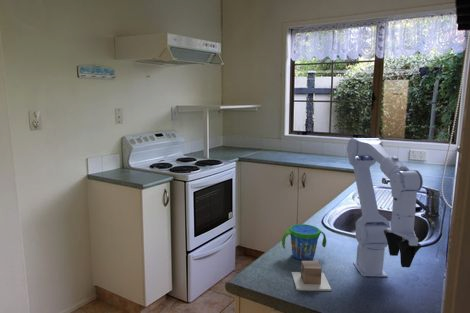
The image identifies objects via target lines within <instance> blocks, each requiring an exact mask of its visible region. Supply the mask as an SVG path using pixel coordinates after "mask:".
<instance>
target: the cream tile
mask: <svg viewBox="0 0 470 313" xmlns="http://www.w3.org/2000/svg"><path fill="white" fill-rule="evenodd" d="M291 276H292V280H293V284H294V286H295V289H296V291H310V292H314V291H315V292H316V291H318V292H319V291H320V292H323V291H324V292H331V291H332V288H331V286H330V284H329V281H328V279H327V277H326V275H325V273H324V272H322V273H321V284H304V283H303V280H302V278H301V271H291Z"/></svg>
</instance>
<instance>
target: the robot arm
mask: <svg viewBox="0 0 470 313" xmlns="http://www.w3.org/2000/svg"><path fill="white" fill-rule="evenodd" d="M346 153H347V158H348V163H349V165H351V166H352V168H353V173H354V178H355V183H356V190H357V194H358V198H359V199H358V200H359V206H360V210H361V214H362V215H361V217H359V218H358V219H357V220H356V221H355V239H356V241H357V242H358V245H357V247H356V261H353V265H354V266H355V268H356V269H357V271H358V272H359V273H360V274H361V276H362V277H379V278H381V277H382V278H383V277H388V274H387V273H386V271H385V270H384V259H385V250H386V248H388V252H389V256H393V257H394V256H397V257H398V256H399V254H400V265H401V267H402V268H410V267H411V266H412V263H413V260H414V258H415V256H416V254H417V253H418V252H419V250H420V249H421V247H422V245H421V243H419V238H418V237H417V236H416V233H415V230H414V229H415V228H414V227H415V217H416V216H415V215H416V206H417V195H418V194H417V193H418V192H420V191H421V189H422V188H423V185H424V180H423V175H422V174H421V172H420V171H419V170H417V169H410V168H409V167H407V165H405V164H404V163H403V162H402V161H401V160H400V158H399V157H398V156H395V155H394V156H393V155H392V156H391V155H389V154H388V152H387V151H386V150H385V149H384V146H383V141H382V140H381V139H380V138H378V137H374V138H372V137H370V138H368V137H367V138H366V137H365V138H363V137H361V138H360V137H350V139H349V140H348V142H347V146H346ZM376 163H378V164H379V169H380V171H381V172H382V173H383V174H384V176H386V178H387V179H388V180H389V185H390V188H391V189H390V190H391V193H390V194H391V197H392V210H391V220H388V219H387V218H386V217H384V216H383V215H381V214H380V212H379V209H378V208H379V207H378V203H377V199H376V198H377V197H376V194H375V188H374V184H373V178H372V175H371V167H372V166H374V165H375V164H376ZM403 239H404V241H403Z"/></svg>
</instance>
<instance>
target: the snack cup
mask: <svg viewBox="0 0 470 313" xmlns="http://www.w3.org/2000/svg"><path fill="white" fill-rule="evenodd" d="M321 234H322V235H323V236H322V237H323V239H322V243H321V246H322V247H323V248H325V247H326V245H327V236H326V234H325V232H324V231H323V230H321V229H320V228H318V227H317V226H315V225H313V224H305V223H298V224H293V225H291V226H289V229H287V230H286V231H285V232H284V233H283V234H282V238H281V244H282V245H281V246H282V248H283V249H284V250H285V249H286V247H285V244H286V237H287V236H288V235H290V241H291V242H290V244H291V253H292V257H294V258H295V259H297V260H300V261H313V258H314V257H315V254H316V252H317V251H316V250H317V245H318V241H319V237H320V235H321Z"/></svg>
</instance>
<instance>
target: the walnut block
mask: <svg viewBox="0 0 470 313" xmlns="http://www.w3.org/2000/svg"><path fill="white" fill-rule="evenodd" d="M300 268H301V269H300V272H301V278H302V280H303V283H304V284H321V273H323V272H322V269H323V268H322V266H321V264H320V263H319V261H318V260H301V266H300Z"/></svg>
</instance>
